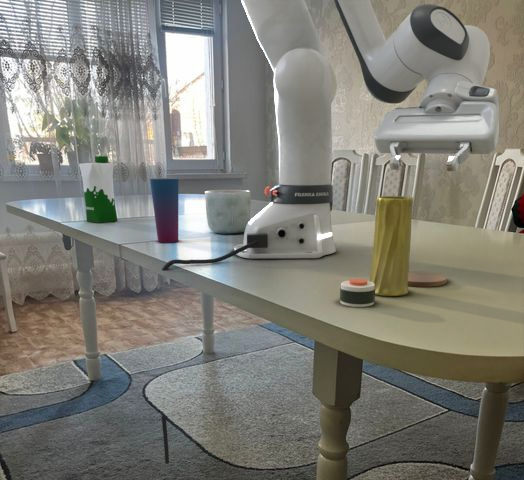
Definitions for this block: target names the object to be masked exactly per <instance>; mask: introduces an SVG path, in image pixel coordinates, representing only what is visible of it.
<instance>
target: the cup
mask: <svg viewBox="0 0 524 480" xmlns="http://www.w3.org/2000/svg"><path fill="white" fill-rule="evenodd" d="M149 184H150V192H151V199H152V207H153V214H154V222H155V229H156V237H157V242H158V243H161V244H162V243H163V244H171V243H173V244H174V243H177V242H179V178H178V177H151V178H149Z"/></svg>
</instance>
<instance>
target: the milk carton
mask: <svg viewBox="0 0 524 480" xmlns="http://www.w3.org/2000/svg"><path fill="white" fill-rule="evenodd" d="M114 164H115V163H113V162H109V157H108V156H106V155H105V156H104V155H103V156H102V155H100V156H98V155H96V156H94V162H86V163H78V166H79V169H80V174H81V179H82V187H83V195H84V204H85V215H86V217H85V218H86V222H89V223H96V224H101V223H103V224H104V223H110V222H118V214H117V209H116V208H117V207H116V201H115V200H116V199H115V189H114V179H113V177H114V176H113V175H114Z"/></svg>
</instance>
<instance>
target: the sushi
mask: <svg viewBox="0 0 524 480" xmlns="http://www.w3.org/2000/svg"><path fill="white" fill-rule="evenodd" d="M375 301H376V295H375V284H374V283H373V282H370V280H367V279H363V278H350V279H349V280H344V281H342V282H341V283H340V287H339V302H340V304H341V305H344V306H347V307H353V308H367V307H371V306H373V305H374V304H375Z"/></svg>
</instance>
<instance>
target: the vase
mask: <svg viewBox="0 0 524 480" xmlns="http://www.w3.org/2000/svg"><path fill="white" fill-rule="evenodd" d="M375 203H376V205H375V218H374V219H375V220H374V235H373V243H372V244H373V245H372V255H371V264H370V273H369V282H373V283H374V284H375V296H379V297H402V296H405V295H408V293H409V286H408V275H409V271H410V257H411V255H410V254H411V243H412V242H411V241H412V240H411V239H412V225H413V224H412V221H413V205H414V197H412V196H406V195H405V196H403V195H383V196H382V195H381V196H377V197H376V202H375Z"/></svg>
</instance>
